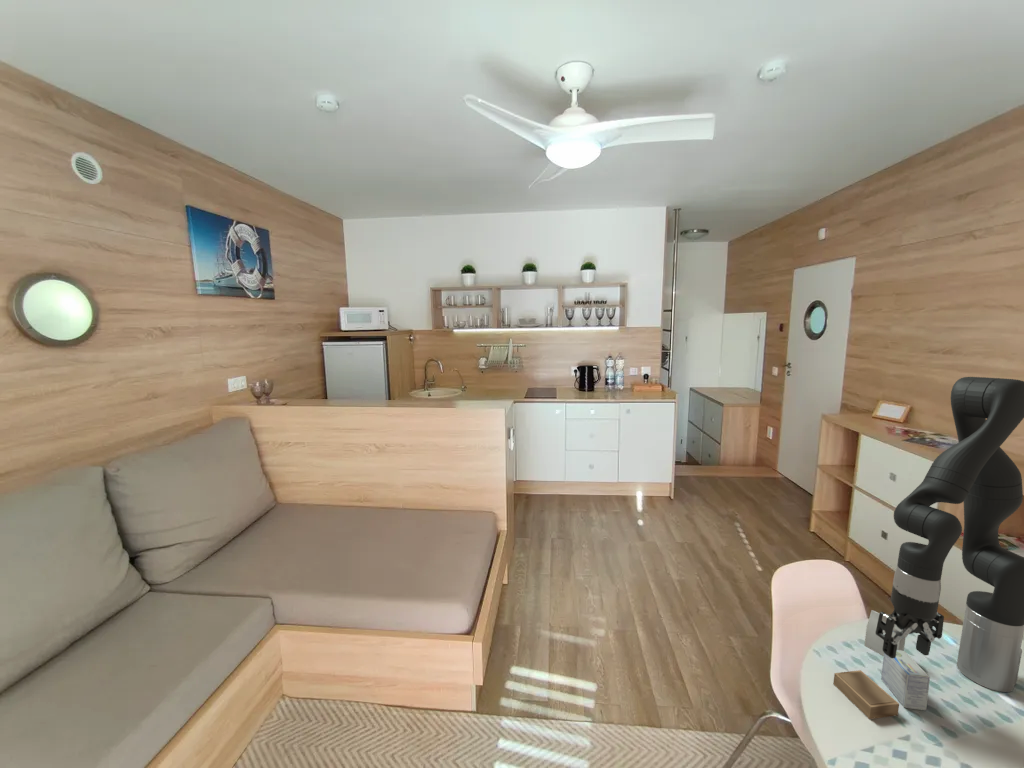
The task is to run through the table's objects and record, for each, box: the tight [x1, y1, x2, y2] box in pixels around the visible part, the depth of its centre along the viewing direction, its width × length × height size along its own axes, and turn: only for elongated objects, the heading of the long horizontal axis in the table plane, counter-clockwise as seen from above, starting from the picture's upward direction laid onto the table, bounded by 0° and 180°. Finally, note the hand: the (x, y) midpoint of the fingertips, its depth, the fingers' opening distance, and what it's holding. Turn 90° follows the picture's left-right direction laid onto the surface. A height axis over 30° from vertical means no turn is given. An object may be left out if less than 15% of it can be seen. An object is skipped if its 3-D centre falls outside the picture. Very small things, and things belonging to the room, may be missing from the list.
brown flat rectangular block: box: [832, 669, 900, 720], centre depth 95 cm, size 7×9×3 cm
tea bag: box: [864, 609, 906, 657], centre depth 108 cm, size 4×7×10 cm, turn 28°
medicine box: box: [880, 650, 931, 711], centre depth 95 cm, size 8×4×9 cm, turn 168°
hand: (905, 654), depth 95 cm, fingers open, 8 cm apart
